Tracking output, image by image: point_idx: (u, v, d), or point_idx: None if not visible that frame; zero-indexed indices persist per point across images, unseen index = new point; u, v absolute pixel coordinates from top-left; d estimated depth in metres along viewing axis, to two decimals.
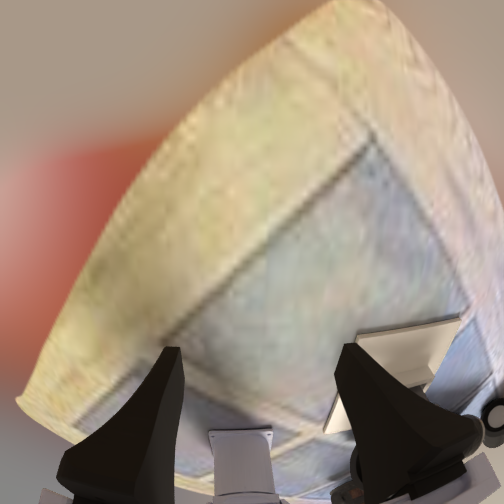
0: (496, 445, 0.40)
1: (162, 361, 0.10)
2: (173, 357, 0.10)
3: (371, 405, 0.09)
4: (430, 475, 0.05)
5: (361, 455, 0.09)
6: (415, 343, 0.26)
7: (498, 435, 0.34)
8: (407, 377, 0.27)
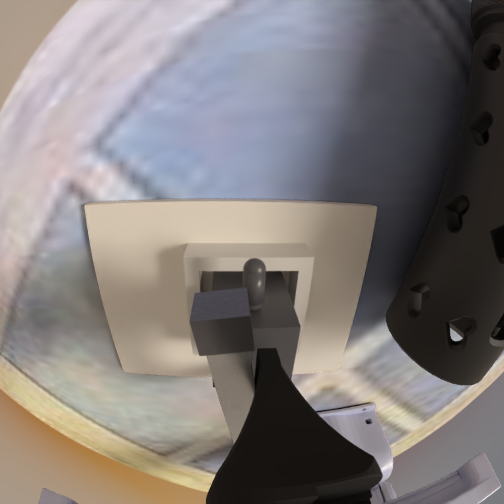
0: None
1: (267, 363, 0.10)
2: (276, 358, 0.11)
3: None
4: None
5: None
6: (127, 298, 0.18)
7: None
8: None
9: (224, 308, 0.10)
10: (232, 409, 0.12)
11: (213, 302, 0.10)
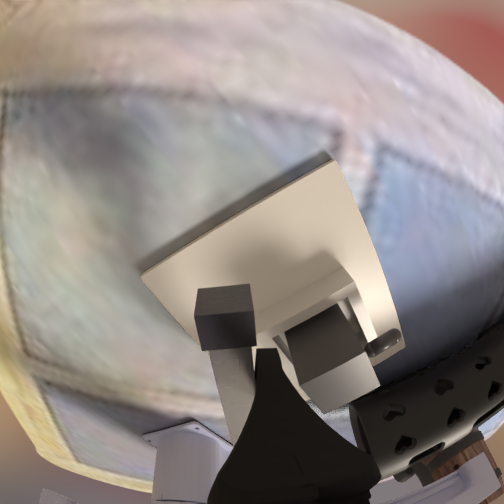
0: None
1: (268, 363, 0.10)
2: (277, 358, 0.11)
3: None
4: None
5: None
6: (256, 242, 0.17)
7: None
8: (297, 302, 0.18)
9: (228, 303, 0.10)
10: (232, 406, 0.12)
11: (217, 297, 0.10)
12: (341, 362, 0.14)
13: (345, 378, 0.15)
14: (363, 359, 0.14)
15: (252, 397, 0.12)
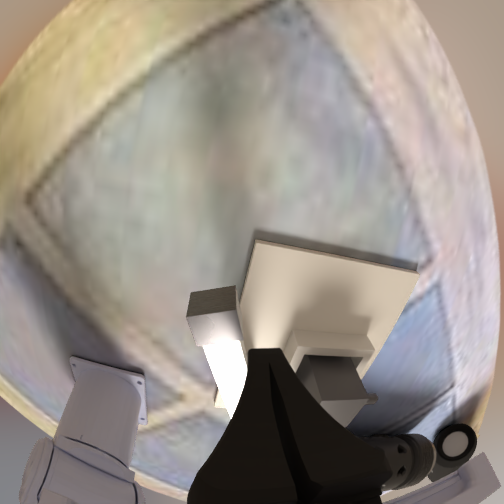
0: None
1: (255, 363, 0.10)
2: (264, 358, 0.11)
3: (280, 417, 0.09)
4: None
5: None
6: (347, 285, 0.21)
7: (453, 466, 0.31)
8: (333, 340, 0.22)
9: (215, 304, 0.11)
10: (230, 394, 0.13)
11: (206, 299, 0.12)
12: (352, 398, 0.18)
13: (342, 410, 0.18)
14: (362, 403, 0.18)
15: None
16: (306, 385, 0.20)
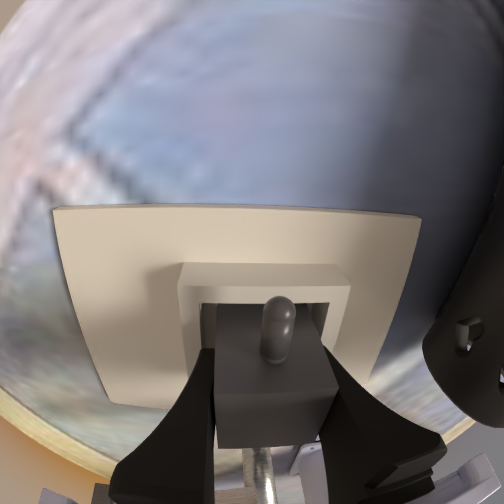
0: None
1: (202, 363, 0.10)
2: (213, 359, 0.10)
3: (334, 412, 0.09)
4: (391, 490, 0.05)
5: (326, 462, 0.09)
6: (109, 326, 0.14)
7: None
8: None
9: None
10: None
11: None
12: (215, 414, 0.09)
13: (253, 421, 0.09)
14: (230, 399, 0.08)
15: None
16: None
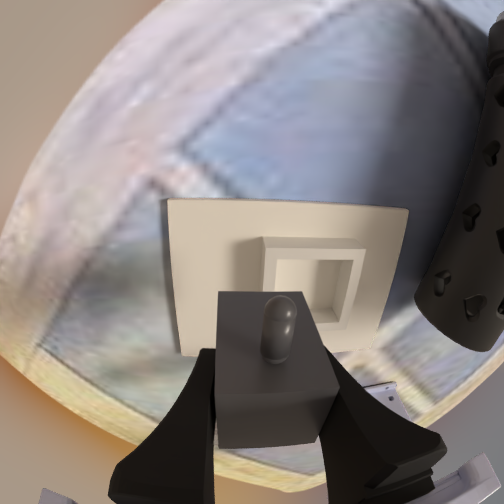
0: None
1: (202, 363, 0.10)
2: (212, 359, 0.10)
3: (334, 412, 0.09)
4: (391, 490, 0.05)
5: (326, 463, 0.09)
6: (199, 285, 0.21)
7: None
8: (260, 290, 0.21)
9: None
10: None
11: None
12: (216, 414, 0.09)
13: (254, 420, 0.09)
14: (231, 399, 0.08)
15: None
16: None
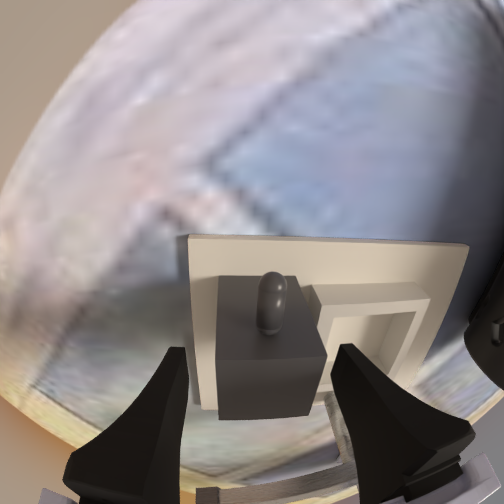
0: None
1: (167, 361, 0.10)
2: (178, 357, 0.10)
3: (366, 406, 0.09)
4: (425, 477, 0.05)
5: (356, 456, 0.09)
6: None
7: None
8: None
9: None
10: (280, 502, 0.13)
11: None
12: (216, 383, 0.10)
13: (251, 389, 0.10)
14: (230, 365, 0.10)
15: (268, 501, 0.13)
16: None
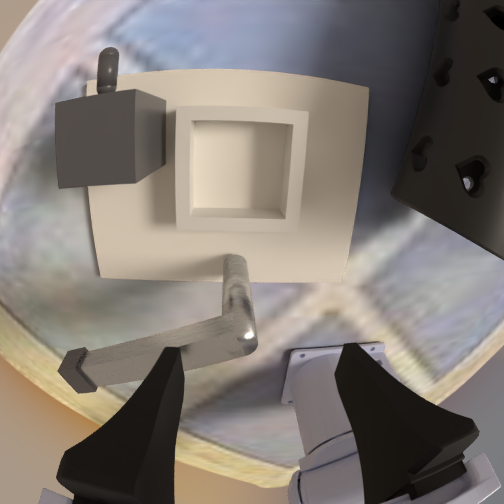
0: None
1: (162, 361, 0.10)
2: (173, 357, 0.10)
3: (371, 405, 0.09)
4: (430, 474, 0.05)
5: (361, 455, 0.09)
6: None
7: None
8: None
9: None
10: (143, 373, 0.13)
11: None
12: (56, 133, 0.10)
13: (78, 134, 0.10)
14: (64, 107, 0.09)
15: (124, 362, 0.13)
16: None
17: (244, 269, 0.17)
